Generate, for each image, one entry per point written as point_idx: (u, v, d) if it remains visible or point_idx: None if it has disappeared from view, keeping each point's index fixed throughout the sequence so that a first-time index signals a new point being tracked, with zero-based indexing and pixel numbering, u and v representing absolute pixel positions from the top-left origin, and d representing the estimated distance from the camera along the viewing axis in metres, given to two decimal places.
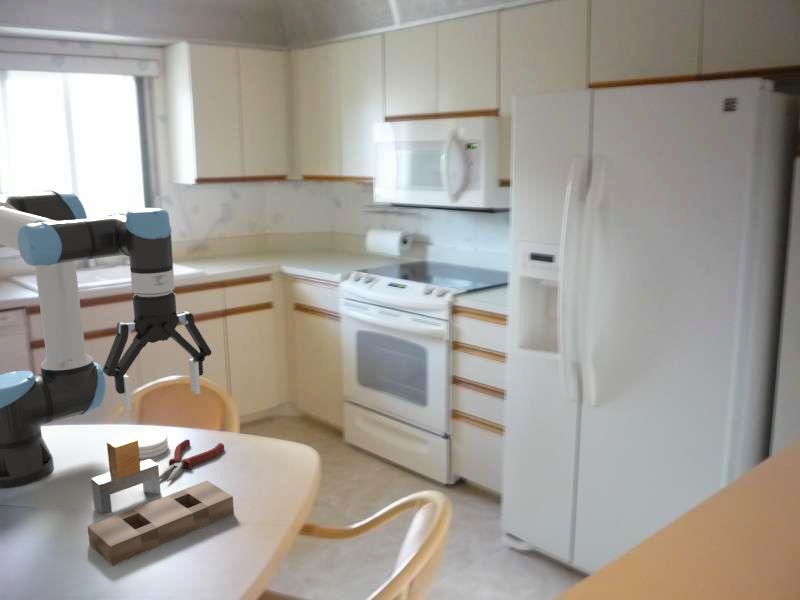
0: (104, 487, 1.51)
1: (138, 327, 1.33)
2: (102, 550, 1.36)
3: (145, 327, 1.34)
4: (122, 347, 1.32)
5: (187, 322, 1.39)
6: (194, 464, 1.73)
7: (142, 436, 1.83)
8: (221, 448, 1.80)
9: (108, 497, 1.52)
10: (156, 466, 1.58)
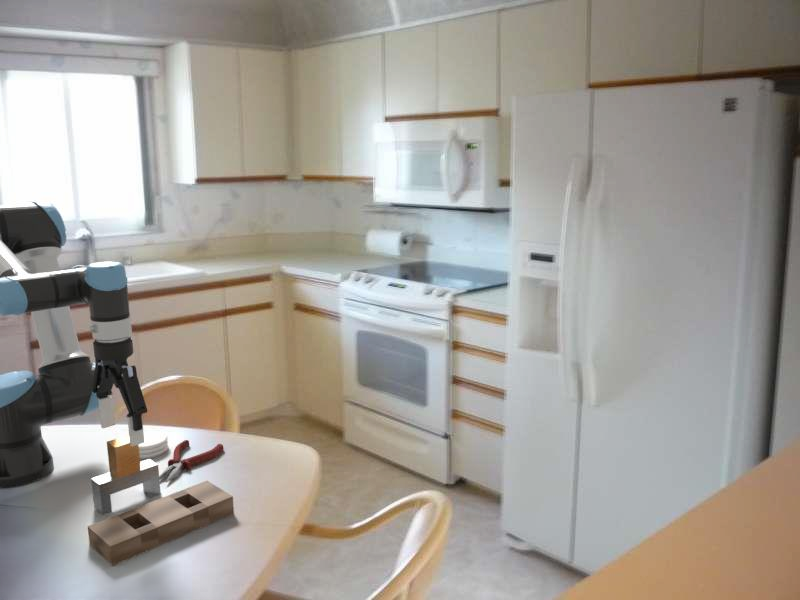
0: (104, 487, 1.51)
1: (102, 362, 1.52)
2: (102, 550, 1.36)
3: (104, 365, 1.51)
4: (96, 373, 1.55)
5: (122, 375, 1.45)
6: (193, 465, 1.73)
7: None
8: (220, 449, 1.80)
9: (108, 497, 1.52)
10: (156, 466, 1.58)
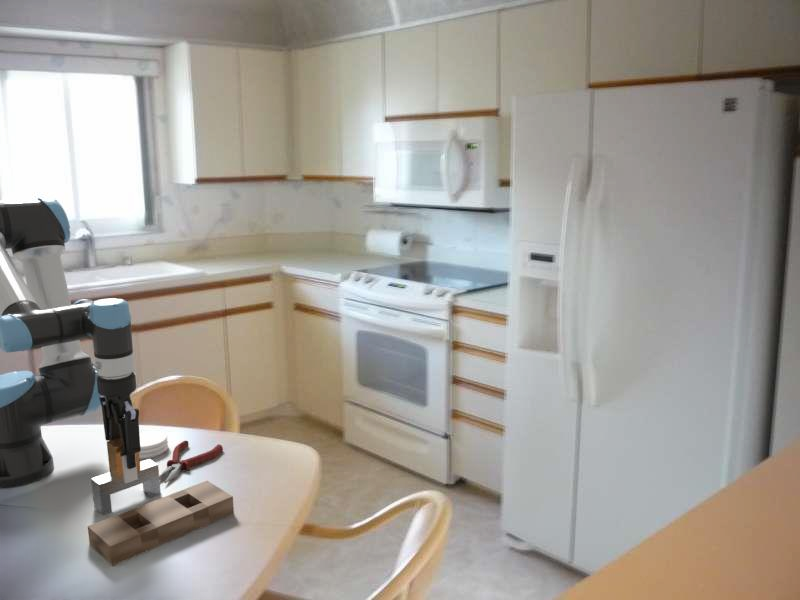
0: (104, 487, 1.51)
1: (106, 398, 1.54)
2: (102, 550, 1.36)
3: (108, 398, 1.53)
4: (104, 416, 1.55)
5: (124, 416, 1.48)
6: (192, 465, 1.73)
7: (142, 436, 1.83)
8: (220, 449, 1.79)
9: (108, 497, 1.52)
10: (156, 466, 1.58)
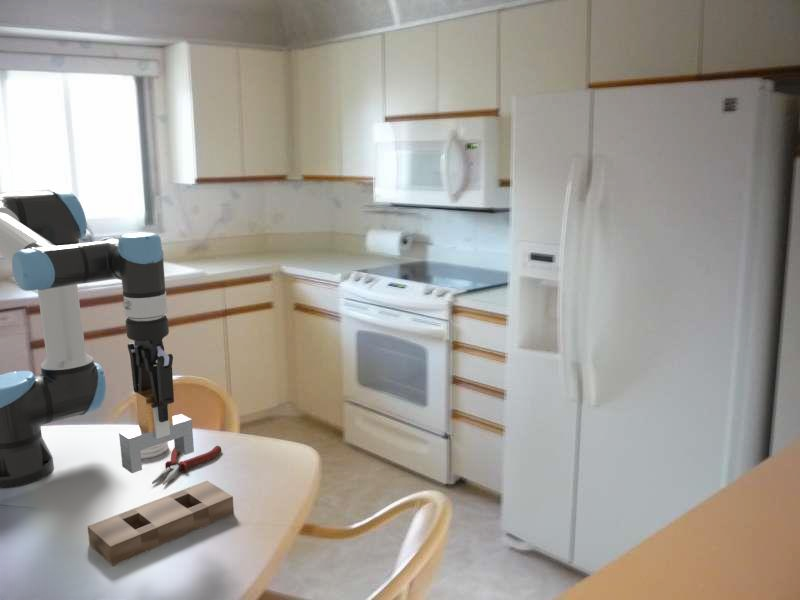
0: (134, 441, 1.36)
1: (135, 345, 1.39)
2: (102, 550, 1.36)
3: (137, 344, 1.38)
4: (133, 365, 1.41)
5: (156, 362, 1.34)
6: (191, 467, 1.72)
7: None
8: (218, 451, 1.79)
9: (138, 453, 1.37)
10: (189, 421, 1.44)
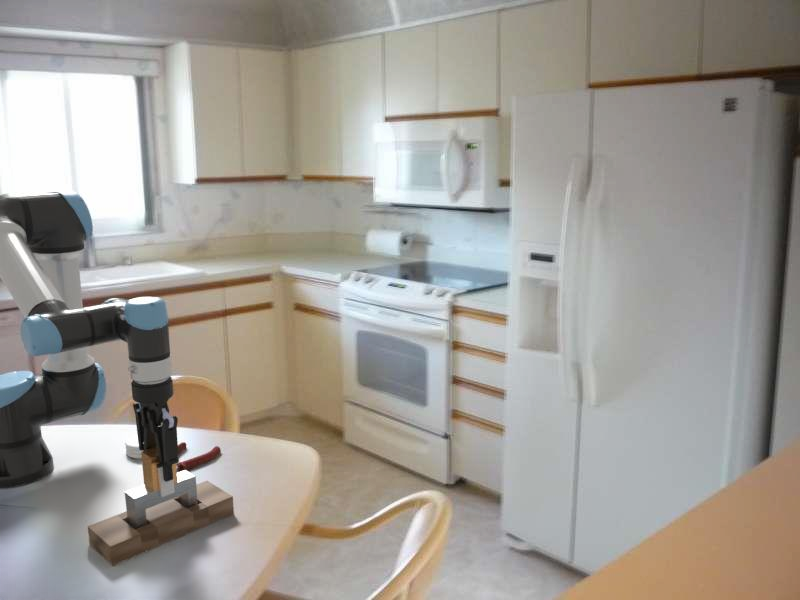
0: (139, 501, 1.39)
1: (140, 405, 1.42)
2: (102, 550, 1.36)
3: (142, 405, 1.41)
4: (138, 424, 1.44)
5: (161, 424, 1.36)
6: (190, 467, 1.72)
7: None
8: (217, 451, 1.78)
9: (143, 512, 1.40)
10: (193, 478, 1.47)
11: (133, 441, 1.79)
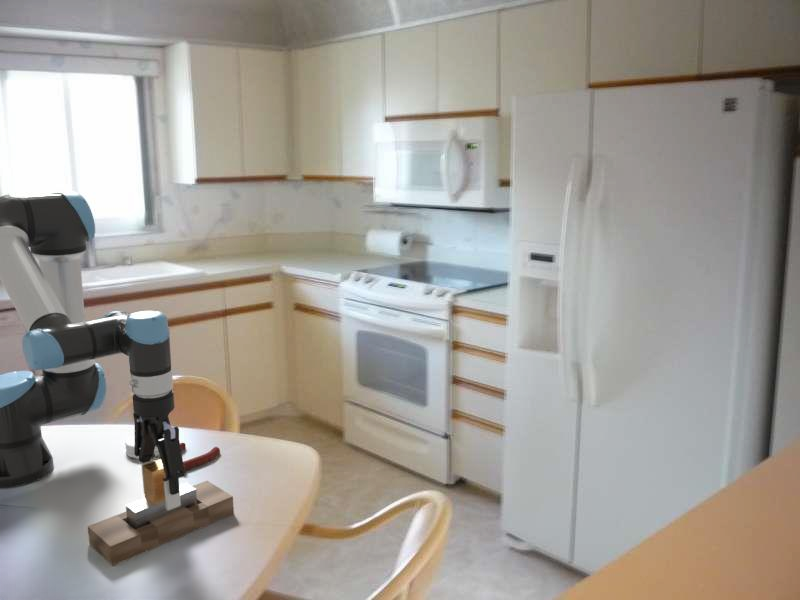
0: (140, 514, 1.40)
1: (141, 417, 1.43)
2: (102, 550, 1.36)
3: (144, 418, 1.42)
4: (136, 432, 1.45)
5: (163, 436, 1.37)
6: (189, 468, 1.71)
7: None
8: (217, 452, 1.78)
9: (144, 525, 1.41)
10: (194, 491, 1.48)
11: (133, 441, 1.79)
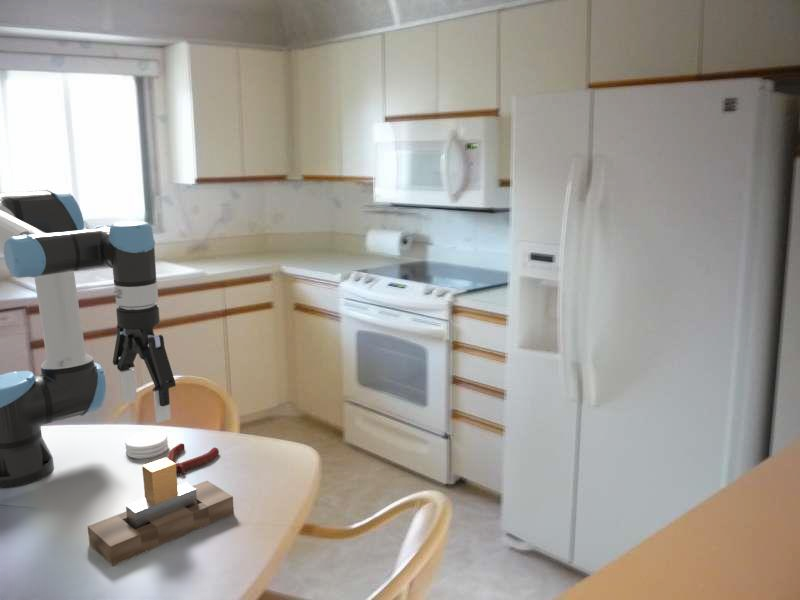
0: (140, 514, 1.40)
1: (125, 331, 1.40)
2: (102, 550, 1.36)
3: (128, 334, 1.39)
4: (118, 344, 1.42)
5: (148, 345, 1.33)
6: (187, 469, 1.71)
7: (143, 436, 1.83)
8: (215, 452, 1.78)
9: (144, 525, 1.41)
10: (194, 491, 1.48)
11: (133, 441, 1.79)
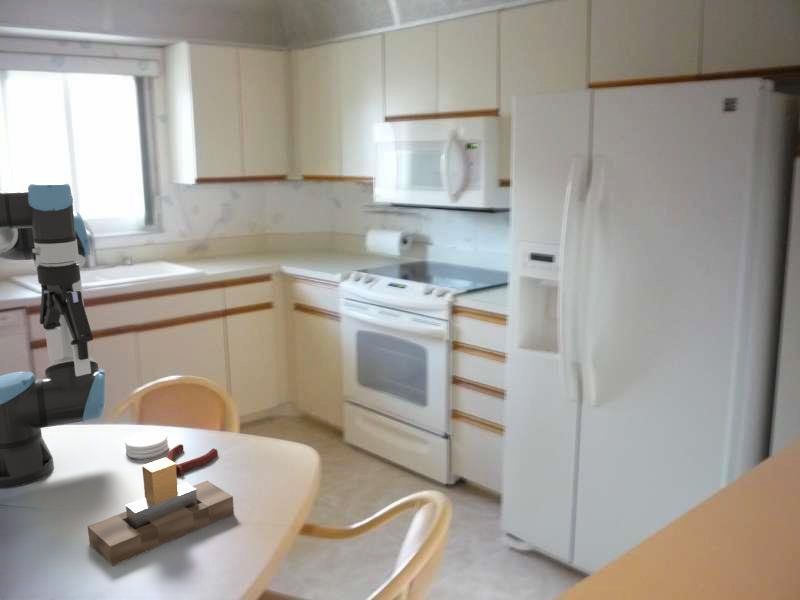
0: (140, 514, 1.40)
1: (48, 290, 1.45)
2: (102, 550, 1.36)
3: (50, 292, 1.44)
4: (42, 302, 1.48)
5: (66, 301, 1.38)
6: (186, 470, 1.70)
7: (143, 436, 1.83)
8: (214, 454, 1.77)
9: (144, 525, 1.41)
10: (194, 491, 1.48)
11: (133, 441, 1.79)
